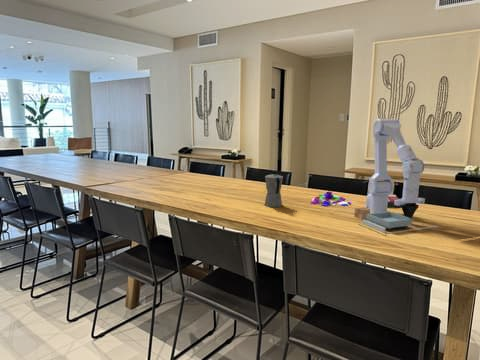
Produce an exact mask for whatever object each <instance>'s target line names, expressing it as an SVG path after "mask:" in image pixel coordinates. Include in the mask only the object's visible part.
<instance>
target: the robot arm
mask: <svg viewBox="0 0 480 360" xmlns="http://www.w3.org/2000/svg"><path fill="white" fill-rule="evenodd" d="M401 128H402V124H401V123H400V120H398V119H397V118H389V119H388V118H377V119H375V121H374V123H373V124H372V133H373V135H372V137H373V138H374V140H373V141H374V151H373V153H374V174H372V176H371V177H369V178H368V180H369V181H368V185H367V187H368V192H369V193H368V194H367V195H366V201H365V208H368V209H370V212H371V213H379V212H388V207H387V204H388V195H391V193H392V192H393V190H394V184H393V181H392V177H391V176H390V175H389V174H388V162H387V161H388V155H387V154H388V153H387V149H388V148H387V146H388V145H387V141H388V139H389V138H391V139H392V141H393V143H394V145H395V146H396V148H397V150H396V153H397V156H398V157H399V160H400V161H401V164H402V165H401V171H402V177H403V188H402V197H401V198H399V199H398V200H394V205H397V206H399V205H400V206H401V208H400V209H402V210H401V211H402V213H403V216H405V217H408V218H411V219H413V217H414V215H415V213H416V211H417V210H418V209H419V204H425V200H426V198H424V197H419V188H420V179H421V174H423V172H424V170H425V164H424V161H423V160H422V159H419V158H418V157H417V156H416V154H415V151H414V150H413V149H412V146H411V145H410V144H407V143H406V141H405V139H404V135H403V134H402V131H401Z"/></svg>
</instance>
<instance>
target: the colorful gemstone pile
mask: <svg viewBox="0 0 480 360" xmlns="http://www.w3.org/2000/svg"><path fill="white" fill-rule="evenodd" d="M311 200H312V201H310V205H315V204H318V203H319V204H321V206H322V207H328V206H336V205H338V206H340V207H345V206H346V207H347V206H350V205H352V202H351V201H345V200H346V198H345V197H343V196H339V195H333V192H332V191H328V190H326V191H324V192H323V193H322V194H321V193H320V194H318V196H315V197H314V198H311ZM348 204H349V205H348Z"/></svg>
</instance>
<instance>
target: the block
mask: <svg viewBox="0 0 480 360" xmlns="http://www.w3.org/2000/svg"><path fill="white" fill-rule="evenodd" d="M370 213H371V211H370V209H368V208H366V206H357V207H355V208H354V218H357V219H359V220H366V215H367V214H370Z"/></svg>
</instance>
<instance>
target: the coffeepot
mask: <svg viewBox="0 0 480 360" xmlns="http://www.w3.org/2000/svg"><path fill="white" fill-rule="evenodd" d="M283 177H284V176H282V175H279V174H276V170H273V171H272V174H268V175H265V176H264V179H265V187H266V194H265V195H266V196H265V200H264V206H265V207H267V208H280V207H282V205H283V202H282V194H281V190H282V185H283Z"/></svg>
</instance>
